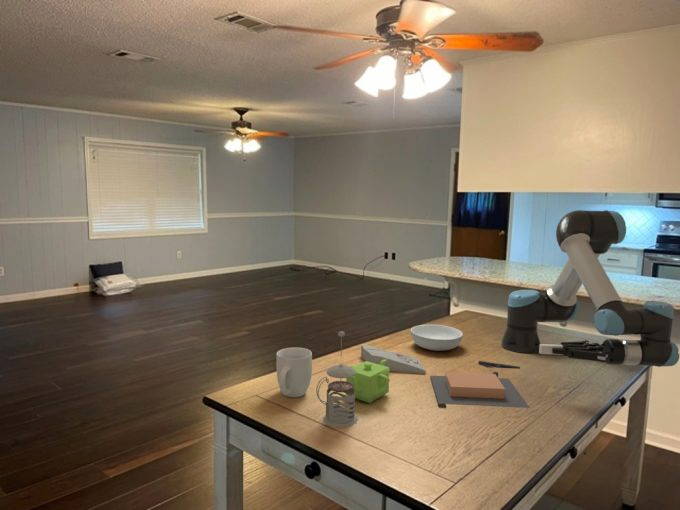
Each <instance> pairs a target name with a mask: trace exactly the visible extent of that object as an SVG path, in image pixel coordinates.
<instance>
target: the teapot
mask: <svg viewBox="0 0 680 510" xmlns="http://www.w3.org/2000/svg"><path fill="white" fill-rule="evenodd" d="M385 362H386V359H384V360H382V361H381V362H380V364H375V363H371V362H368V361H363V362H361V363H359V364H356V365H350V366H349V365H348V366H349V367H352V368H353V369H354V370H355V371H356V373H355V375H354V376H352V377H348V378H345V381H347V382H350V383H352V384H353V385H354V388H353V389H354V390H355V398H357V399H356V400H360V401H362V402H365V403H367V404H373V403H372V402H374V401H375V400H378V399H381V398H383V396H384V395H386V394H387V393H389V392H390V391H389V390H390V387H389V386H390V380H391V379H390V371H389V367H386V366H384V364H385ZM345 395H346V396H350V394H346V393H345ZM380 397H381V398H380Z"/></svg>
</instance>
